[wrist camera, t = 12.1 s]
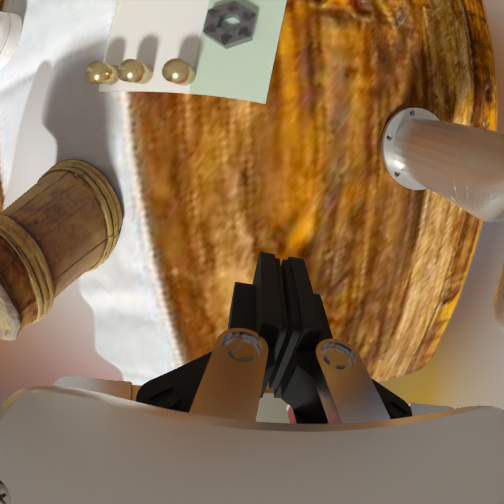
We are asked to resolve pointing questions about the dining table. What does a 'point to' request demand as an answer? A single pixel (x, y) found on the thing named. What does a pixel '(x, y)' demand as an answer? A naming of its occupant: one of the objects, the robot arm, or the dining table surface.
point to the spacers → (139, 72)
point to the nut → (227, 12)
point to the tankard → (53, 240)
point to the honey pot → (9, 35)
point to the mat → (195, 47)
